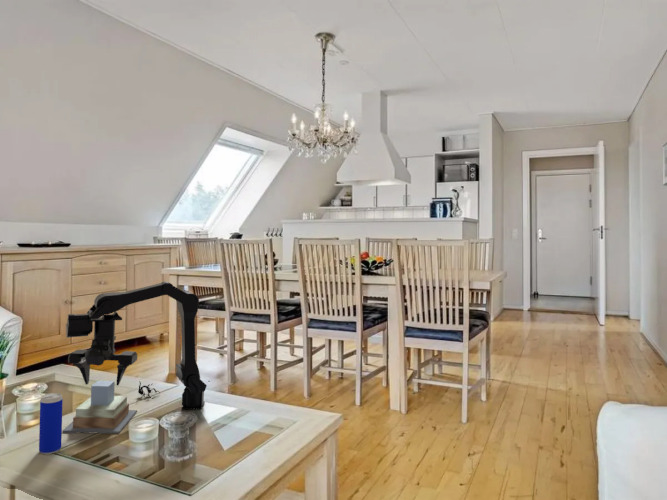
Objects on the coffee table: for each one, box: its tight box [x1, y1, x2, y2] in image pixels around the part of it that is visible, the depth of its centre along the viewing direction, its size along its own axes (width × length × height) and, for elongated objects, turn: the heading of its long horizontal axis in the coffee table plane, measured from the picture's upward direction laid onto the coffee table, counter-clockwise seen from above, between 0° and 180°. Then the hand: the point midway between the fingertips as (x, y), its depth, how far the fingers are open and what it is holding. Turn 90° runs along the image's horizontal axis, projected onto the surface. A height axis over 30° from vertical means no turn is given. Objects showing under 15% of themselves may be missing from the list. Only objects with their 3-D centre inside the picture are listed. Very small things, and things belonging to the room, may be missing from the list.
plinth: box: [72, 395, 130, 428], centre depth 146 cm, size 12×12×6 cm
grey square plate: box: [62, 409, 138, 434], centre depth 146 cm, size 16×16×1 cm
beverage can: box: [38, 392, 64, 455], centre depth 126 cm, size 5×5×15 cm
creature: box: [137, 380, 161, 400], centre depth 169 cm, size 8×5×8 cm
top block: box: [90, 380, 116, 406], centre depth 146 cm, size 5×5×6 cm
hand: (102, 384), depth 145 cm, fingers open, 9 cm apart
